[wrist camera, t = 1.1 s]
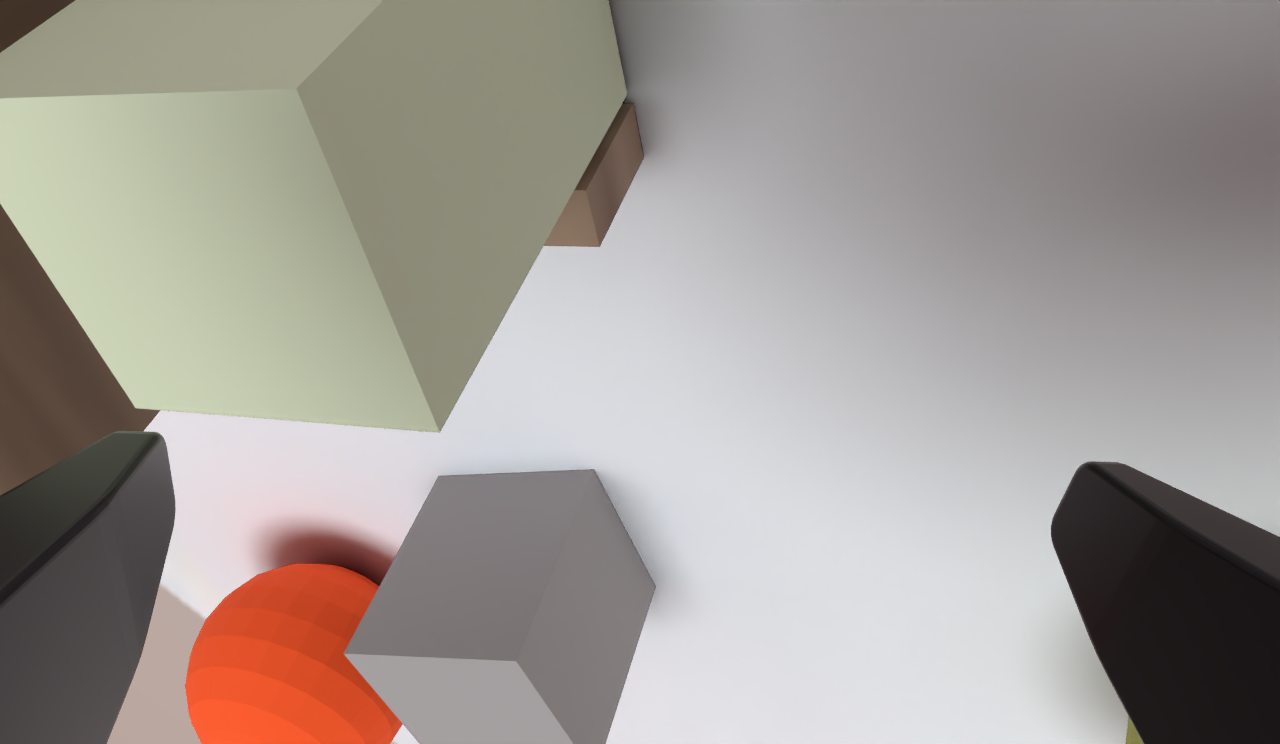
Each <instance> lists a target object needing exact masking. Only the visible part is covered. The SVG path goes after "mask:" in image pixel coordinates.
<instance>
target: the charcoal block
mask: <svg viewBox="0 0 1280 744" xmlns="http://www.w3.org/2000/svg"><path fill="white" fill-rule="evenodd" d="M655 587H656V586H655V584H654V582H653V580H652V578H651V577H650V575H649V573H648V571H647V569H646V567H645V565H644V563H643V561H642V559H641V558H640V556H639V554H638V552H637V550H636V548H635V546H634V544H633V542H632V540H631V539H630V537H629V535H628V533H627V531H626V529H625V527H624V525H623V523H622V522H621V520H620V518H619V516H618V514H617V512H616V510H615V508H614V506H613V504H612V503H611V501H610V499H609V497H608V495H607V493H606V491H605V489H604V487H603V485H602V484H601V482H600V480H599V478H598V476H597V474H596V472H595V470H594V469H590V470H567V471H543V472H520V473H496V474H473V475H449V476H438V478H437V480H436V482H435V484H434V486H433V487H432V489H431V491H430V493H429V495H428V497H427V499H426V500H425V502H424V504H423V506H422V508H421V510H420V512H419V514H418V515H417V517H416V519H415V521H414V523H413V525H412V527H411V528H410V530H409V532H408V534H407V536H406V538H405V540H404V541H403V543H402V545H401V547H400V549H399V551H398V553H397V555H396V556H395V558H394V560H393V562H392V564H391V566H390V568H389V569H388V571H387V573H386V575H385V577H384V579H383V581H382V583H381V584H380V586H379V588H378V590H377V592H376V594H375V596H374V597H373V599H372V601H371V603H370V605H369V607H368V609H367V611H366V612H365V614H364V616H363V618H362V620H361V622H360V624H359V625H358V627H357V629H356V631H355V633H354V635H353V637H352V639H351V640H350V642H349V644H348V646H347V648H346V650H345V652H344V653H343V654H344V655H345V656H346V657H347V658H348V660H349V661H350V662H351V663H352V664H353V666H354V667H355V668H356V669H357V670H358V671H359V673H360V674H361V675H362V676H363V677H364V679H365V680H366V681H367V682H368V683H369V684H370V686H371V687H372V688H373V689H374V690H375V692H376V693H377V694H378V695H379V696H380V697H381V699H382V700H383V701H384V702H385V703H386V705H387V706H388V707H389V708H390V709H391V710H392V712H393V713H394V714H395V715H396V716H397V717H398V719H399V720H400V721H401V722H402V723H403V725H404V726H405V727H406V728H407V729H408V730H409V732H410V733H411V734H412V735H413V736H414V738H415V739H416V740H417V741H418V742H419V743H420V744H605V743H606V740H607V737H608V734H609V731H610V728H611V725H612V722H613V718H614V715H615V712H616V709H617V706H618V703H619V700H620V697H621V693H622V690H623V687H624V684H625V681H626V678H627V675H628V672H629V668H630V665H631V662H632V659H633V656H634V653H635V650H636V646H637V643H638V640H639V637H640V634H641V631H642V628H643V625H644V621H645V618H646V615H647V612H648V609H649V606H650V603H651V600H652V596H653V593H654V590H655Z"/></svg>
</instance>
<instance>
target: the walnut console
mask: <svg viewBox="0 0 1280 744" xmlns="http://www.w3.org/2000/svg"><path fill="white" fill-rule="evenodd" d="M74 1H75V0H0V53H1V52H2V51H4V50H5V49H6V48H8V47H9V46H11V45H12V44H14V43H15V42H17V41H18V40H19V39H21V38H22V37H24V36H25V35H27V34H28V33H29V32H31V31H32V30H34V29H35V28H37V27H38V26H39V25H41V24H42V23H44V22H45V21H47V20H48V19H49V18H51V17H52V16H54V15H55V14H57V13H58V12H59V11H61V10H62V9H64V8H65V7H67V6H68V5H69V4H71V3H72V2H74ZM643 158H644V156H643V151H642V146H641V141H640V136H639V131H638V126H637V121H636V116H635V110H634V105H633V103H627V104H622V105H621V107H620V109H619V110H618V112H617V114H616V116H615V118H614V119H613V121H612V123H611V125H610V127H609V128H608V130H607V132H606V134H605V136H604V137H603V139H602V141H601V143H600V145H599V146H598V148H597V150H596V152H595V154H594V155H593V157H592V159H591V161H590V163H589V164H588V166H587V168H586V170H585V172H584V173H583V175H582V177H581V179H580V181H579V182H578V184H577V186H576V188H575V190H574V191H573V193H572V195H571V197H570V199H569V200H568V202H567V204H566V206H565V208H564V209H563V211H562V213H561V215H560V217H559V219H558V220H557V222H556V224H555V226H554V228H553V229H552V231H551V233H550V235H549V237H548V238H547V240H546V242H545V244H544V246H587V247H600V245H601V243H602V241H603V239H604V237H605V235H606V233H607V231H608V229H609V227H610V225H611V223H612V221H613V219H614V217H615V215H616V213H617V211H618V209H619V207H620V205H621V203H622V201H623V199H624V197H625V195H626V193H627V191H628V188H629V186H630V184H631V182H632V180H633V178H634V176H635V174H636V172H637V170H638V168H639V166H640V164H641V162H642V160H643ZM159 411H160V410H152V409H139V408H135V406H134V405H133V403H132V402H131V400H130V399H129V397H128V396H127V394H126V393H125V391H124V390H123V388H122V387H121V385H120V384H119V382H118V381H117V379H116V378H115V376H114V375H113V373H112V372H111V370H110V369H109V367H108V366H107V364H106V363H105V361H104V360H103V358H102V357H101V355H100V354H99V352H98V351H97V349H96V348H95V346H94V345H93V343H92V341H91V340H90V338H89V337H88V335H87V334H86V332H85V331H84V329H83V328H82V326H81V325H80V323H79V322H78V320H77V319H76V317H75V316H74V314H73V313H72V311H71V310H70V308H69V307H68V305H67V304H66V302H65V301H64V299H63V298H62V296H61V295H60V293H59V292H58V290H57V289H56V287H55V286H54V284H53V283H52V281H51V280H50V278H49V277H48V275H47V273H46V272H45V270H44V269H43V267H42V266H41V264H40V263H39V261H38V260H37V258H36V257H35V255H34V254H33V252H32V251H31V249H30V248H29V246H28V245H27V243H26V242H25V240H24V239H23V237H22V236H21V234H20V233H19V231H18V230H17V228H16V227H15V225H14V224H13V222H12V221H11V219H10V218H9V216H8V215H7V213H6V212H5V210H4V209H3V207H2V205H1V204H0V495H2V494H4V493H6V492H8V491H9V490H11V489H13V488H15V487H16V486H18V485H20V484H22V483H24V482H25V481H27V480H29V479H31V478H32V477H34V476H36V475H38V474H40V473H41V472H43V471H45V470H47V469H49V468H50V467H52V466H54V465H56V464H57V463H59V462H61V461H63V460H65V459H66V458H68V457H70V456H72V455H73V454H75V453H77V452H79V451H81V450H82V449H84V448H86V447H88V446H89V445H91V444H93V443H95V442H97V441H98V440H100V439H102V438H104V437H105V436H107V435H109V434H111V433H114V432H117V431H141V432H143V431H144V430H145V428H146V427H147V426H148V425H149V423H150V422H151V421H152V420H153V419H154V417H155V416H156V415H157V414H158V412H159Z"/></svg>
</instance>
